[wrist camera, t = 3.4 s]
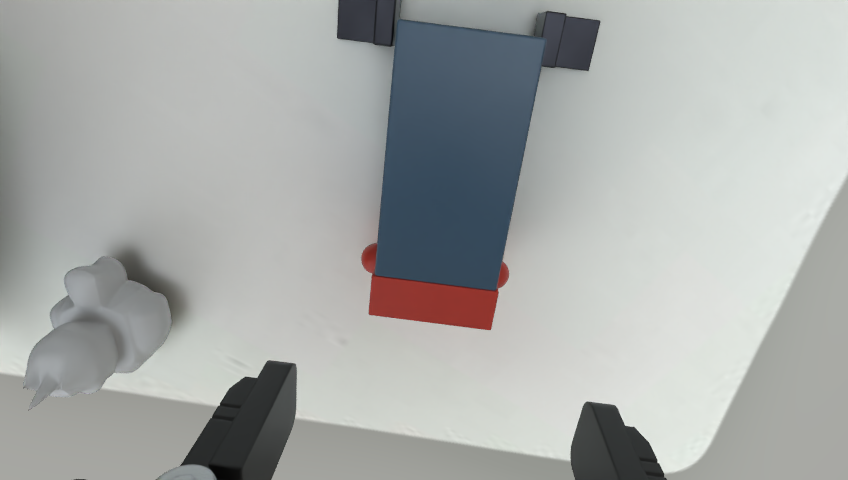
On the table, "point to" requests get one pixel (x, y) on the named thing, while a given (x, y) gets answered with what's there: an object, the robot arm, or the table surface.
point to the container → (451, 171)
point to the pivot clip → (566, 36)
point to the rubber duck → (97, 332)
